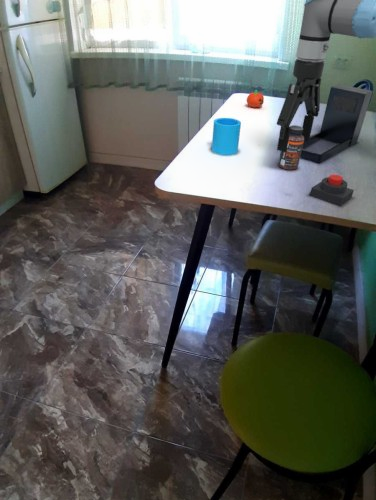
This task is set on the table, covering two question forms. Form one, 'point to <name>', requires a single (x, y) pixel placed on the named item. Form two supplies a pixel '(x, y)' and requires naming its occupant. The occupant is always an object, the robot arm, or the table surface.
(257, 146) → the table surface
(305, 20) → the robot arm
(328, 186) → the control block
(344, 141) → the dark l-shaped stand
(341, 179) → the button
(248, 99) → the pumpkin
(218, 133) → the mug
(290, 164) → the supplement bottle
